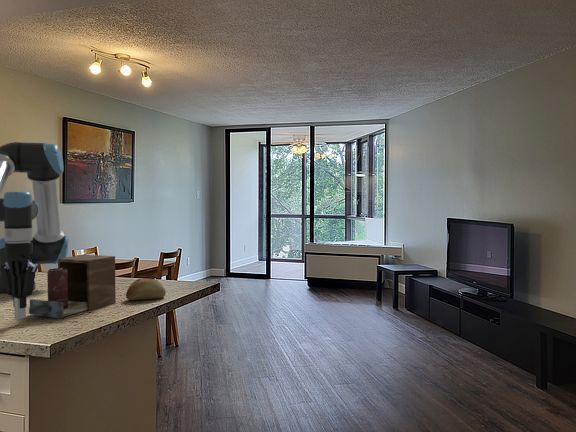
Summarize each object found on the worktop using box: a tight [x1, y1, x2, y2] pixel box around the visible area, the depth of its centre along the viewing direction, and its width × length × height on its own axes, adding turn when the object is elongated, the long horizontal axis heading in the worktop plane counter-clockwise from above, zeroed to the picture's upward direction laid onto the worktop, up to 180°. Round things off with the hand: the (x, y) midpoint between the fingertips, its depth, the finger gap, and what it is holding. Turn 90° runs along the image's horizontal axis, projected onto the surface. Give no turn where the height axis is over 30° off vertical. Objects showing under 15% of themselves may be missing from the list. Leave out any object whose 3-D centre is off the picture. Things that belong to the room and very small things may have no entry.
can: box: [46, 267, 68, 309], centre depth 160 cm, size 6×6×14 cm
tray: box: [28, 298, 88, 319], centre depth 159 cm, size 14×17×5 cm
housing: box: [57, 254, 117, 312], centre depth 172 cm, size 14×13×18 cm
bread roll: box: [125, 277, 167, 301], centre depth 183 cm, size 10×15×8 cm, turn 121°
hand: (20, 318), depth 146 cm, fingers closed
